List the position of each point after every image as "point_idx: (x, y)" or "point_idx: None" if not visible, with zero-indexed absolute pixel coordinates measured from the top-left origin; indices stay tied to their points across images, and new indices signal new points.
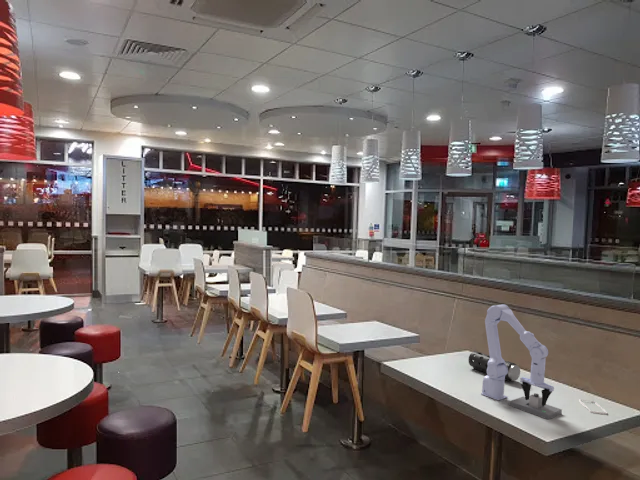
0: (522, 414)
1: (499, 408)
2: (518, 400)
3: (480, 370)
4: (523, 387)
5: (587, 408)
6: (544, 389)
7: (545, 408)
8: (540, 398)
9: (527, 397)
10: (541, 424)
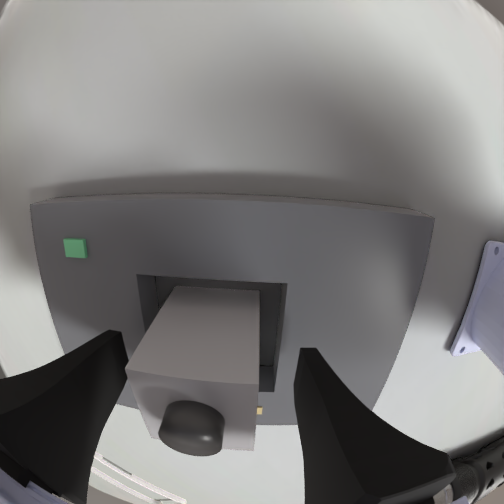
0: (221, 86)
1: (418, 65)
2: (379, 321)
3: (499, 440)
4: (396, 452)
5: (112, 467)
6: (17, 468)
7: None
8: (141, 402)
9: (302, 377)
10: (51, 65)
